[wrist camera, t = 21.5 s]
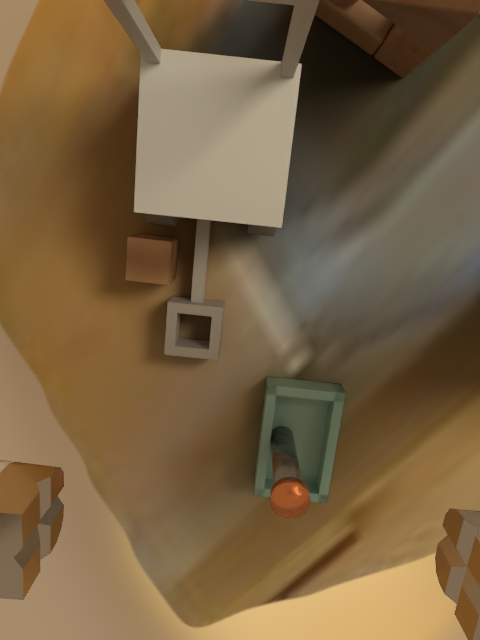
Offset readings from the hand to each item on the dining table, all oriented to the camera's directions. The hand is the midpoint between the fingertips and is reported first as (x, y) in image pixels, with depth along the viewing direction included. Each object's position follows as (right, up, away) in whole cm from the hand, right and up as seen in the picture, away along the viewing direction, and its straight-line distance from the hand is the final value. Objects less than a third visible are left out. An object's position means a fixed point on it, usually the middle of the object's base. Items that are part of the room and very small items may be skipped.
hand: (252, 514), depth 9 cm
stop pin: (+4, -9, +40) cm, 41 cm away
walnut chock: (-9, +11, +36) cm, 38 cm away
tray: (+6, -9, +40) cm, 42 cm away
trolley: (-3, +14, +35) cm, 38 cm away
